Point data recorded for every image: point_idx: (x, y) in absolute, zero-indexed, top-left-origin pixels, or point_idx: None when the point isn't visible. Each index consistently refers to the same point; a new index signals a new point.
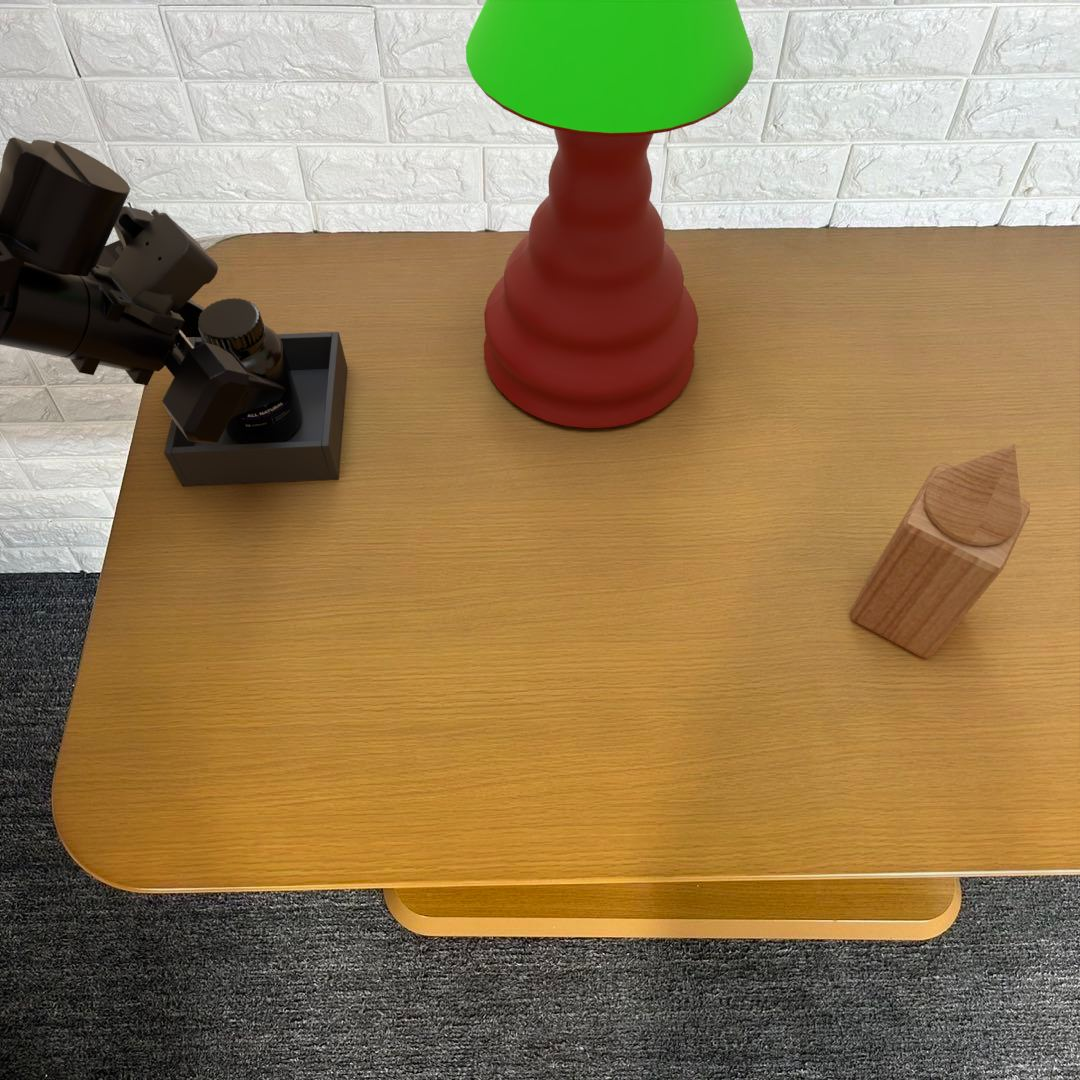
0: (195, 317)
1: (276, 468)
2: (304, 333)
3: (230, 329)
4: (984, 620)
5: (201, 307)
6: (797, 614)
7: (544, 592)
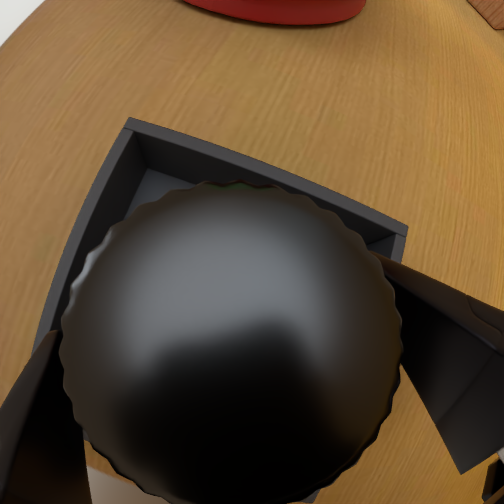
0: (47, 437)
1: None
2: (96, 177)
3: (339, 368)
4: None
5: (12, 405)
6: (494, 40)
7: (498, 128)
